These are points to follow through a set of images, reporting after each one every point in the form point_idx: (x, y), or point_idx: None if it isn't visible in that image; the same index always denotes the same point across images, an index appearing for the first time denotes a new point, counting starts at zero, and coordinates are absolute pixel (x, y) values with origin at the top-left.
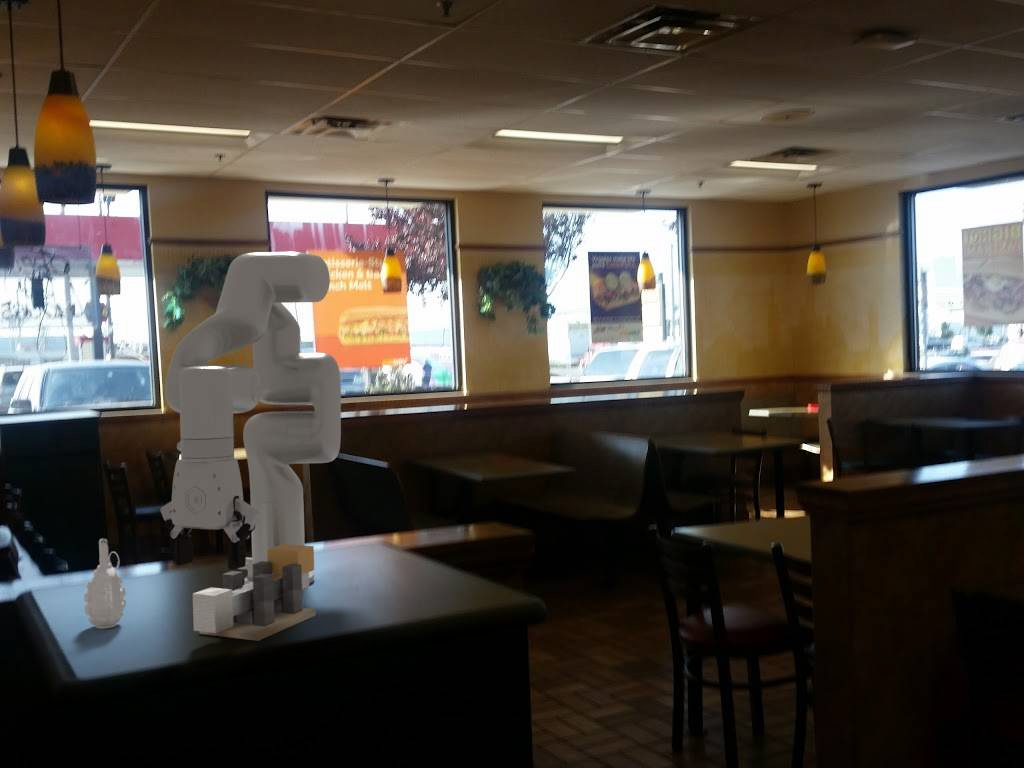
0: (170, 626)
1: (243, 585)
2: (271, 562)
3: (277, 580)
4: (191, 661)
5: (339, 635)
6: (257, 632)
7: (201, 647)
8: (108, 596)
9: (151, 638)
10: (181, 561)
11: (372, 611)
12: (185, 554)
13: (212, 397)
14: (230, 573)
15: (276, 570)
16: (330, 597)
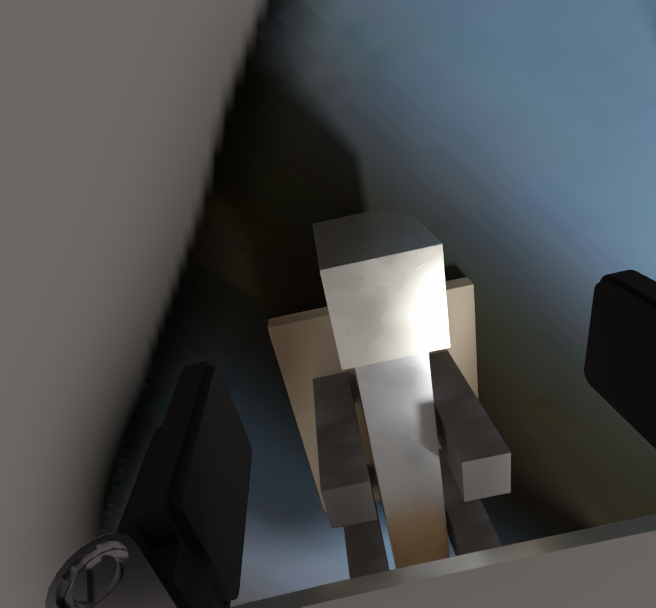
0: (594, 277)
1: (437, 458)
2: None
3: (389, 534)
4: (263, 74)
5: (142, 442)
6: (282, 336)
7: (358, 195)
8: None
9: (569, 171)
10: (608, 303)
11: (243, 563)
12: (631, 358)
13: None
14: (489, 471)
15: None
16: None
